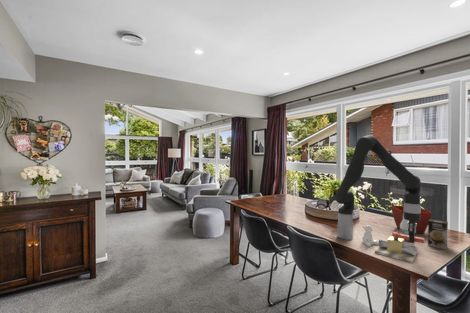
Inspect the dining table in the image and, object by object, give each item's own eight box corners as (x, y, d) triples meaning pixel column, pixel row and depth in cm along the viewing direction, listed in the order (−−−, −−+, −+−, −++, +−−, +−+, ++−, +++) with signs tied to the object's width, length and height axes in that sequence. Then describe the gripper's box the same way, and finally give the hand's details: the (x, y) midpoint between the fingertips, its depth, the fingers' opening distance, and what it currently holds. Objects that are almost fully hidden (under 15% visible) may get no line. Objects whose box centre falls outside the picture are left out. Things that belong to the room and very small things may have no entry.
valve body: (377, 248, 140) (377, 236, 140) (381, 245, 145) (381, 234, 145) (412, 257, 128) (412, 244, 127) (415, 253, 132) (415, 241, 132)
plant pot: (432, 235, 165) (432, 212, 165) (402, 234, 169) (402, 211, 169) (417, 227, 184) (417, 206, 184) (390, 226, 188) (390, 205, 187)
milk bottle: (408, 242, 152) (408, 212, 152) (417, 247, 145) (417, 215, 145) (396, 242, 152) (396, 212, 152) (405, 247, 145) (405, 215, 144)
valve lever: (391, 238, 136) (391, 233, 136) (393, 237, 139) (393, 231, 139) (423, 245, 125) (423, 239, 125) (424, 243, 128) (424, 238, 128)
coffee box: (427, 245, 147) (427, 220, 147) (428, 243, 152) (428, 218, 151) (447, 249, 140) (447, 223, 140) (447, 246, 145) (447, 221, 145)
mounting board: (374, 252, 137) (374, 250, 137) (382, 245, 148) (382, 243, 148) (412, 263, 124) (412, 260, 124) (417, 253, 135) (417, 251, 135)
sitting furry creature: (368, 247, 146) (368, 228, 146) (357, 242, 154) (357, 224, 154) (380, 245, 148) (380, 226, 148) (368, 240, 157) (368, 223, 156)
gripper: (420, 214, 120) (419, 247, 120) (421, 210, 130) (421, 240, 130) (402, 212, 125) (402, 244, 125) (404, 208, 135) (404, 237, 135)
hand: (411, 242), depth 128 cm, fingers closed
